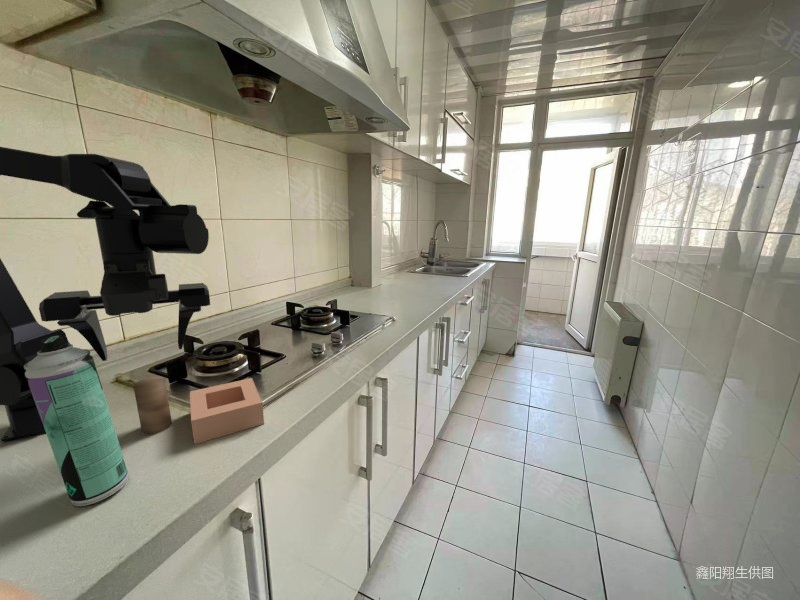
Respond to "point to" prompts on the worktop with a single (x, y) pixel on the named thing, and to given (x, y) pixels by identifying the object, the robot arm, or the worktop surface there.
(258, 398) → the socket block
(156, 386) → the peg
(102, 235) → the robot arm
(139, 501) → the worktop surface
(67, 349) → the spray can
